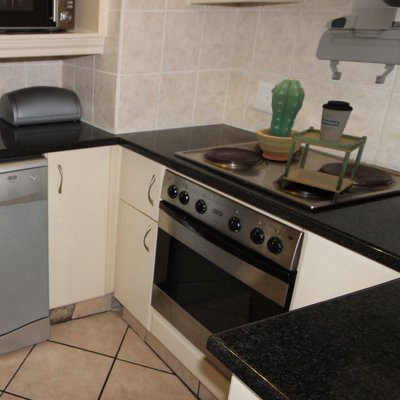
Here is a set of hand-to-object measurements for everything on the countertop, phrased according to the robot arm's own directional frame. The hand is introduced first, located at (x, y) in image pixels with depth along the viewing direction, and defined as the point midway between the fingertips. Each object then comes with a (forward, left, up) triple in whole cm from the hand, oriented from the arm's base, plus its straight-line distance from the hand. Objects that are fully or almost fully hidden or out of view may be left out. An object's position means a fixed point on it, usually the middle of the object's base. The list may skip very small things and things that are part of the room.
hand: (356, 81), depth 116 cm
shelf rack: (+3, -1, -30) cm, 30 cm away
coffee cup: (+3, -1, -16) cm, 16 cm away
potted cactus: (+23, -23, -30) cm, 44 cm away
